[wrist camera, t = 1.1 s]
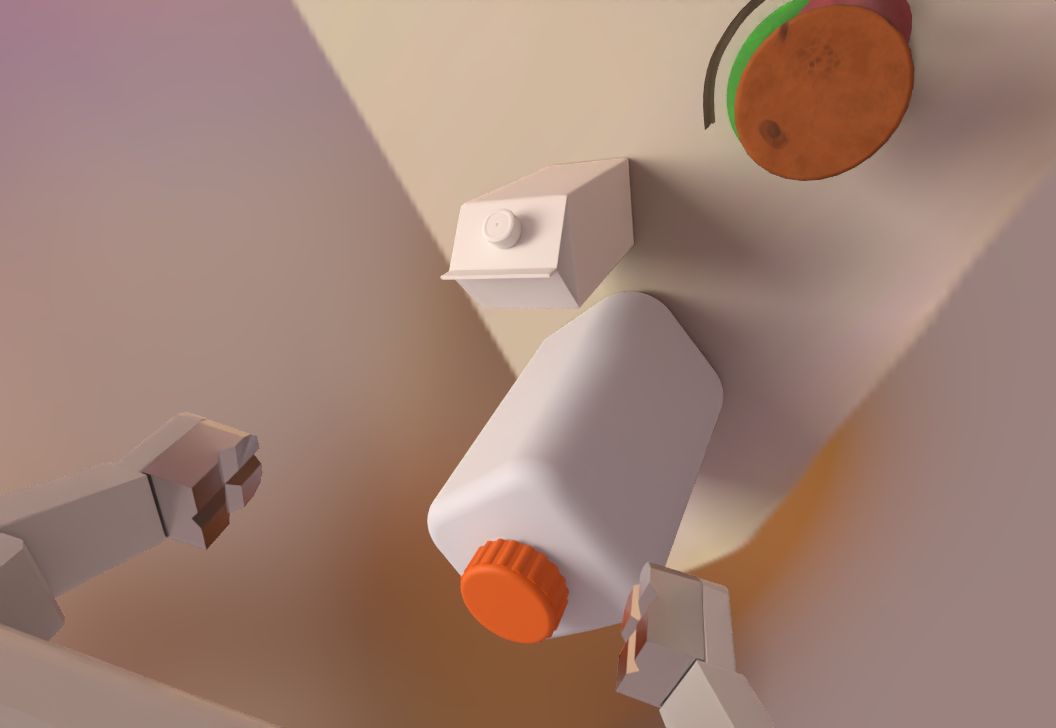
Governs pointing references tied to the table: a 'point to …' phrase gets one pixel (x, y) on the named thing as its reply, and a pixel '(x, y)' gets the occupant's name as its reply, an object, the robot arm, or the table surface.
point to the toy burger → (817, 84)
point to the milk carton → (545, 236)
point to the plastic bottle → (580, 472)
